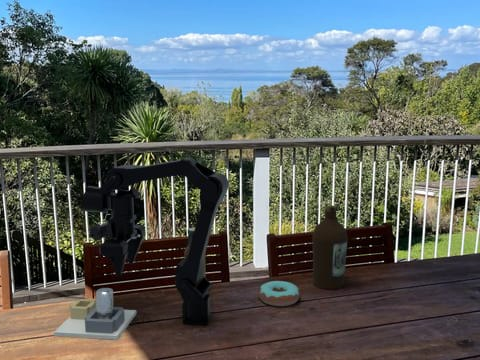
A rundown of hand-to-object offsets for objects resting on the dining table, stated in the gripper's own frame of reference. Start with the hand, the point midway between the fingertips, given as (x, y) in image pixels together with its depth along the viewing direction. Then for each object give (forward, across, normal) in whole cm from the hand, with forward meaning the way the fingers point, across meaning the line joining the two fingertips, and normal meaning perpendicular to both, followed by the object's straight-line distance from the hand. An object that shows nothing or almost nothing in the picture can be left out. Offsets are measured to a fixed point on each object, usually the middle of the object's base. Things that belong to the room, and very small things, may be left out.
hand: (125, 269), depth 126 cm
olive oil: (+12, -26, +56) cm, 63 cm away
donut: (+12, -13, +41) cm, 45 cm away
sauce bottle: (+12, -14, +16) cm, 25 cm away
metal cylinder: (+11, +10, -2) cm, 15 cm away
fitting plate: (+12, +8, -5) cm, 15 cm away
